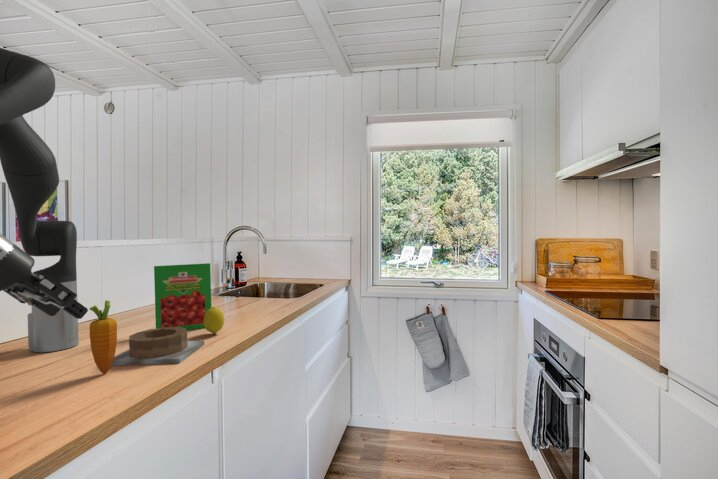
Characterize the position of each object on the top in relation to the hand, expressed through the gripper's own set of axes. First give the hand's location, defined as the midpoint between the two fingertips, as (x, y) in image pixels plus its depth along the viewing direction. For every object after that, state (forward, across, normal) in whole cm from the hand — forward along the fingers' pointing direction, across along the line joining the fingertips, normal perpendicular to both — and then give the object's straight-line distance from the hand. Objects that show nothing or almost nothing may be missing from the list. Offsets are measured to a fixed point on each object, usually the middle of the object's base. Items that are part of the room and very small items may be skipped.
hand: (69, 313), depth 69 cm
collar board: (+23, 0, -4) cm, 23 cm away
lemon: (+36, +1, -16) cm, 40 cm away
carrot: (+14, 0, +6) cm, 15 cm away
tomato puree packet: (+37, +14, -17) cm, 43 cm away
